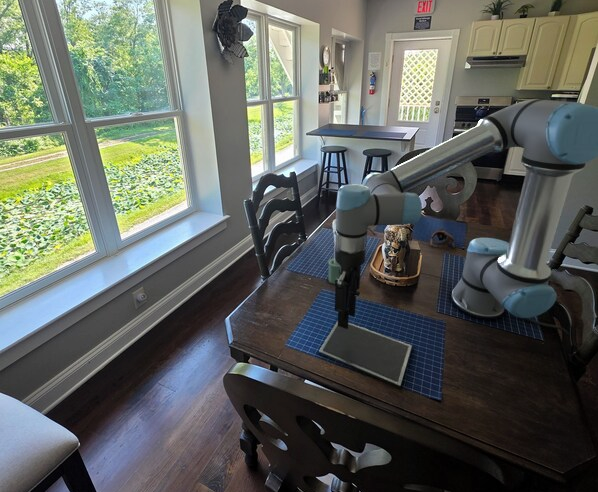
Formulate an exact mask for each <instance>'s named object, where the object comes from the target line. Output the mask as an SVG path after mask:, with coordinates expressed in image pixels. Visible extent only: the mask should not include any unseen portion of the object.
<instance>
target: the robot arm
mask: <svg viewBox="0 0 598 492" xmlns="http://www.w3.org/2000/svg"><path fill="white" fill-rule="evenodd" d="M509 148H520V149H521V148H522V149H523V150H522V155H521V160H520V164H522V165H523V167H525V168H526V171H525V175H524V179H523V184H522V188H521V192H520V196H519V199H518V204H517V209H516V213H515V218H514V220H513V225H512V228H511V229H512V230H511V233H510V238H509V242H508V241H505V240H502V239H498V238H493V237H477V238H474V239H471V240H470V241H469V244H468V247H467V249H466V255H465V261H464V265H463V270H462V275H461V278H460V280H459V281H458V282H457V284H455V286H454V288H453V289H452V292H451V297H450V298H451V301H452V303H453V305H454V306H455V307H456V308H457V309H458V310H459V311H461V312H462V313H464V314H466V315H468V316H469V317H472V318H476V319H480V320H487V321H488V320H496V319H499V318H501V317H502V316H503V314H504V312H505V311H506V312H508V313H510V314H511V315H512V316H514V317H516V318H520V319H523V320H525V321H528V322H529V323H532V324H534V325H539V326H542V327H546V328H552V329H556V330H559V331H562V332H563V333H564V334H565V335H567V336H568V335H569V336H570V333H569V332H568V331H567V329H565V328H564V327H562V326H559V325H554V324H548V323H544V322H541V321H537V320H534V319H532V318H534V317H535V318H536V317H538V316H540V315H542V314H544V313H546V312H547V311H549V310H550V309H551V308H552V307H553V306H554V304H555V303H556V301H557V296H558V295H557V292H556V290H555V289H554V288H553V287H552V286H551V285H549V282H550V279H551V276H552V269H551V267H550V266H549V265H548V264H547V262H548V260H549V255H550V252H551V250H552V249H551V248H552V245H553V242H554V239H555V236H556V232H557V229H558V226H559V222H560V219H561V215H562V214H563V213H562V212H563V209H564V205H565V202H566V200H567V196H568V192H569V189H570V186H571V182H572V179H573V176H574V175H575V174H577V173H578V172H581V171H582V170H584V169H585V167H586V164H587V163H590V162H591V161H594V160H595V159H597V158H598V106H595V105H590V104H585V103H582V102H580V101H579V102H578V101H564V100H552V99H545V98H544V99H543V98H533V99H526V100H523V101H519V102H517V103H513V104H511V105H509V106H507V107H504V108H502V109H500V110H498V111H495V112H493V113H491V114H489V115H487V116H485V117H483V118H481V119H480V120H479V121H478V123H477V125H476V126H475V127H474V126H473V127H472V128H470V129H468V130H467V131H464V132H462V133H459V134H458V135H456V136H454V137H453V138H450V139H449V140H447V141H444V142H442V143H440V144H439V145H436V146H434V147H433V148H430V149H429V150H426V151H425V152H423V153H420V154H419V155H417V156H414V157H413V158H411V159H409V160H407V161H405V162H403V163H401V164H399V165H397V166H395V167H393V168H390V169H389V170H387V171H385V172H383V173H380V172H371V173H369V174H367V175H366V176H365V177H364V178H363V181H362V184H356V183H348V184H344V185H342V186H340V187H339V189H338V191H337V195H336V203H335V219H336V231H335V232H333V235H334V234H335V235H336V243H335V242H334V244H336V246H335V260H336V262H337V263H338V264H339V265H340V266H341V267H340V269H339V274H340V276H339V280H338V279H336V280H335V284H334V311H336V312H337V321H338V326H340V327H342V328H345V329H348V323H349V321H350V318H349V317H353V318H355V316H356V305H357V297H359V296H360V294H361V293H360V291H358V290H359V289H360V286H361V285H360V284H361V272H362V271H361V269H362V265H363V264H364V263H365V262H366V254H367V253H366V250H367V249H366V248H367V242H368V241H367V239H368V229H367V228H369V227H370V226H371V227H373V226H374V227H375V226H376V227H377V226H405V225H414V224H417V223H418V222H419V221H420V220H421V217H422V211H423V204H422V200H421V197H420V196H419V195H418V194H417V193H416V192H411V191H412V190H414V189H417V188H418V187H421V186H423V185H425V184H427V183H429V182H431V181H433V180H435V179H437V178H439V177H441V176H444V175H445V174H448V173H450V172H452V171H454V170H456V169H457V168H460V167H462V166H464V165H466V164H468V163H471V162H472V161H474V160H477V159H478V158H481V157H483V156H485V155H487V154H489V153H491V152H492V153H496V154H498V153H500V152H502V151H504V150H507V149H509Z"/></svg>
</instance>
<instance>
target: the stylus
mask: <svg viewBox="0 0 598 492" xmlns="http://www.w3.org/2000/svg"><path fill="white" fill-rule="evenodd" d="M335 246H336V244H335V243H333V258H334V265H339V264H338V263H337V262H336V260H335Z"/></svg>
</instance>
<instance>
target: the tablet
mask: <svg viewBox="0 0 598 492" xmlns="http://www.w3.org/2000/svg"><path fill="white" fill-rule="evenodd" d="M412 349H413V345H412V344H409V343H407V342H403V341H400V340H398V339H395V338H392V337H390V336H387V335H385V334H381V333H378V332H376V331H373V330H370V329H368V328H365V327H362V326H359V325H356V324H354V323H351V322H348V329H345V328H342V327H340V326H338V320H337V321H336V322H335V324H334V326H333V327H332V329H331V331H330V333H329V334H328V335H327V337H326V339H325V340H324V342H323V344H322V345H321V347H320V349H319V350H318V354H319V355H320V356H323V357H325V358H327V359H330V360H332V361H335V362H336V363H337V362H338V363H339V364H342V365H345V366H346V367H349V368H351V369H353V370H356V371H358V372H361V373H362V374H365V375H368V376H370V377H372V378H375V379H377V380H379V381H381V382H383V383H387V384H388V385H391V386H394V387H396V388H397V389H401V386H402V383H403V379H404V377H405V373H406V369H407V366H408V362H409V359H410V355H411V352H412Z"/></svg>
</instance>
